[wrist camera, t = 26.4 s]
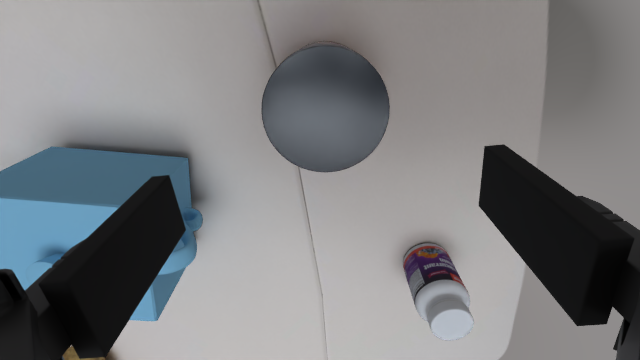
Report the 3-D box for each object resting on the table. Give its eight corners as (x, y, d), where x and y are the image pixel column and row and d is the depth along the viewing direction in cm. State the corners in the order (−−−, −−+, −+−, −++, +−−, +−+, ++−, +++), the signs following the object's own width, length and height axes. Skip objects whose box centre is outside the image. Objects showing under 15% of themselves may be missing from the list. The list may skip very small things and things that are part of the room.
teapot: (221, 153, 36) (168, 226, 24) (223, 244, 41) (180, 344, 29) (0, 135, 36) (-173, 200, 23) (29, 229, 40) (-103, 325, 28)
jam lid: (385, 37, 25) (389, 38, 23) (387, 158, 28) (391, 166, 27) (255, 50, 25) (251, 53, 23) (274, 168, 29) (272, 177, 27)
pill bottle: (455, 247, 41) (492, 310, 32) (437, 282, 43) (467, 350, 34) (411, 237, 41) (436, 298, 32) (395, 273, 43) (414, 340, 34)
